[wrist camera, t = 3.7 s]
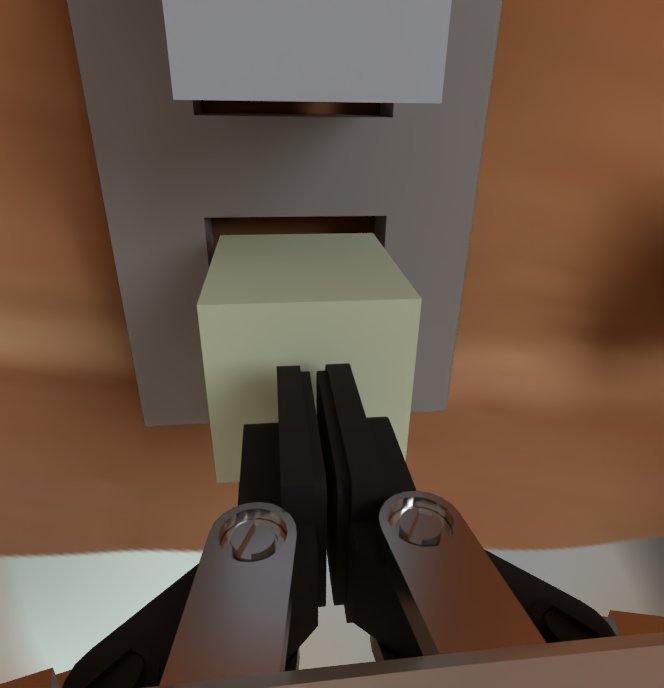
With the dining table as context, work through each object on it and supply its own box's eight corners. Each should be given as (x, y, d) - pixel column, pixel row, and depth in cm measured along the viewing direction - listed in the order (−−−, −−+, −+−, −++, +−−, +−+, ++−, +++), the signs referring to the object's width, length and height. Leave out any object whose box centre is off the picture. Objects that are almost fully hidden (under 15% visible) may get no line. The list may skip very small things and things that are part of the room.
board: (-73, -965, 9) (-161, -1235, 7) (576, -820, 10) (643, -1016, 8) (155, 398, 21) (145, 426, 19) (431, 385, 23) (446, 410, 21)
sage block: (220, 235, 16) (196, 305, 11) (373, 232, 17) (421, 298, 11) (231, 370, 18) (217, 483, 13) (366, 364, 19) (404, 470, 14)
